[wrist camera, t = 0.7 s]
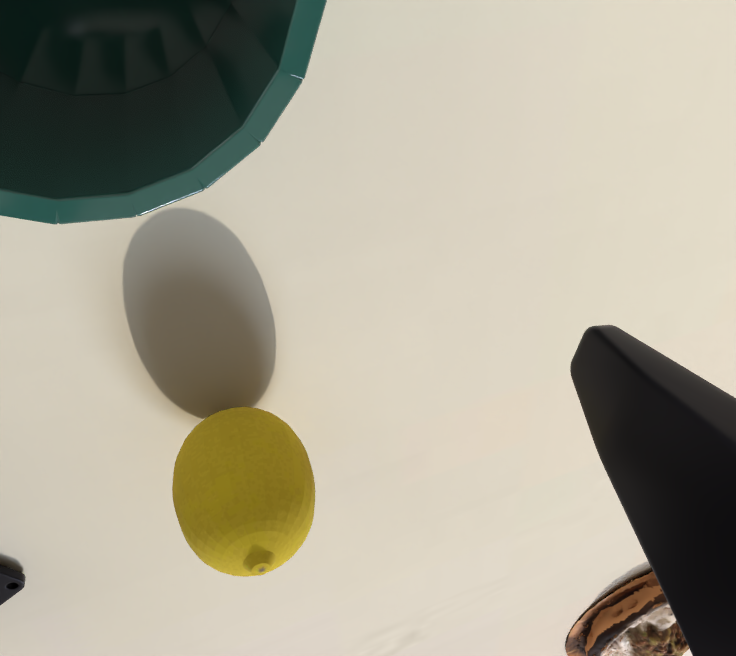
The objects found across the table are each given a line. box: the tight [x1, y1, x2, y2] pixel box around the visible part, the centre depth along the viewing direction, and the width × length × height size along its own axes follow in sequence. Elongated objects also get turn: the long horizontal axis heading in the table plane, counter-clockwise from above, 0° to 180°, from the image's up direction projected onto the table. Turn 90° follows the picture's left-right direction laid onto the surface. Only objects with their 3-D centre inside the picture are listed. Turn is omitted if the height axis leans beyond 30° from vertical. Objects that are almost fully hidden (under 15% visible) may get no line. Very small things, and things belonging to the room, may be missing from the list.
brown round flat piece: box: [566, 572, 689, 656], centre depth 54 cm, size 15×15×4 cm
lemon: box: [172, 407, 315, 576], centre depth 26 cm, size 6×6×8 cm
